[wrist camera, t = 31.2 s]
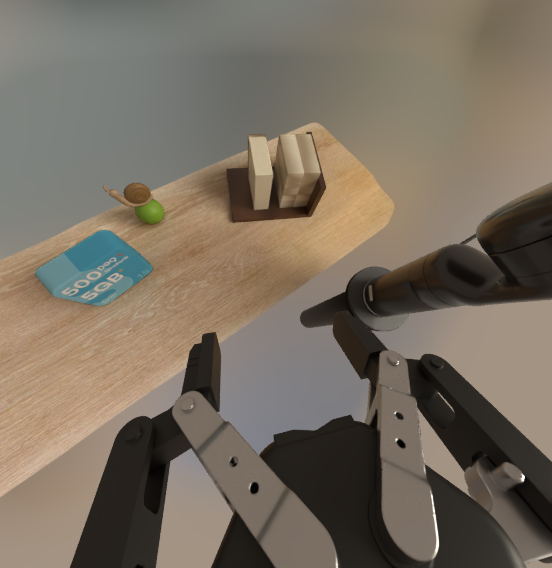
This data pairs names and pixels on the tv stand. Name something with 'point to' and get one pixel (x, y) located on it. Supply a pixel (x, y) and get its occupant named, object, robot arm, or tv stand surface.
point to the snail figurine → (140, 202)
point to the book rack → (282, 183)
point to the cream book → (259, 171)
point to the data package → (94, 270)
